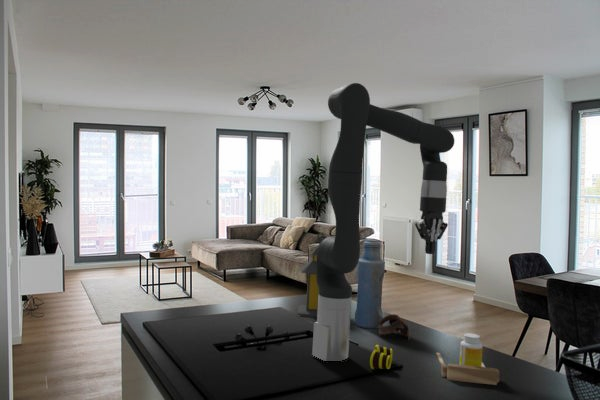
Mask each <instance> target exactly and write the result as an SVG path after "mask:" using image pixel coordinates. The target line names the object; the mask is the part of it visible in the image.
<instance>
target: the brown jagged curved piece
mask: <svg viewBox="0 0 600 400" xmlns="http://www.w3.org/2000/svg"><path fill="white" fill-rule="evenodd" d="M386 322H388V323H389V325H384V324H385V323H386ZM379 323H380V324H379V328H378V334H379V336H380V337H381V336H382V335H387V334H388V335H391V334H397V333H398V332H400V335H401V336H407V340H410V339H411V337H410V331H409V326H408V324H407V323H406V321H405V320H404V319H402V318H401V317H400V316H399V315H397V314H395V313H393V314H388V315H385V316H383V319H381V320H380V322H379Z"/></svg>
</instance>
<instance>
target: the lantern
mask: <svg viewBox="0 0 600 400" xmlns="http://www.w3.org/2000/svg"><path fill="white" fill-rule="evenodd" d="M320 236H322V237H321V238H320ZM316 237H317V240H318V241H319V242H318V246H316V247H315V248H314V249H313V250H312V251H311V252H310V255H312V258H311V259H310V260H309V261H308V262H306V263H305V264H304V265H303V266H301V267H300V273H303V274H307V289H306V304H300V305H298V306H297V316H298V315H300V316H299V317H303V318H305V317H307V318H317V311H318V294H319V288H318V285H317V280H316V267H317V251H318V247H319V245H320V243H321V242H322V241H323V240H324V239H325V235H324V233H321V232H320V233H318V234H317V236H316Z"/></svg>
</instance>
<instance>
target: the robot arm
mask: <svg viewBox="0 0 600 400" xmlns="http://www.w3.org/2000/svg"><path fill="white" fill-rule="evenodd" d="M327 106H328V109H329V112H330V113H331V114H332V115H333V116H334V117H335V118H336V119H339V120H340V130H339V131H340V132H339V137H338V140H337V144H336V146H335V148H334V150H333V153H332V156H331V158H330V162H329V167H328V176H327V177H328V178H327V192H328V196H329V200H330V204H331V206H332V211H333V214H334V217H335V232H334V233H335V235H334V236H327V237H326V238H325V237H324V240H322V242H321V243H320V245H319V244H318V246H319V247H318V251H317V267H316V280H317V285H318V288H319V294H318V311H317V317H316V321H314V322H313V335H312V336H313V337H312V349H311V351H312V352H311V353H312V354H311V356H312V355H313V356H312V357H314V356H315V357H314V358H316V357H317V358H316V359H318V358H319V360H320V359H321V361H322V360H323V361H322V362H324V361H341V362H343V361H342V360H345V359H347V358H348V359H349V349H350V348H349V347H350V333H351V314H352V312H351V311H352V295H353V287H352V285H351V283H349V281H348V280H347V278H346V276H345V275H346V274H349V273H352V272H353V271H354V270H355V269H357V264H358V261H359V259H360V256H361V243H360V241H361V239H360V213H361V212H360V210H361V194H362V193H361V192H362V183H363V166H364V165H363V163H364V151H365V137H366V131H367V127H371V128H373V129H375V130H378V131H381V132H383V133H386V134H389V135H391V136H393V137H396V138H397V139H400V140H403V141H405V142H408V143H409V144H414V145H415V144H416V145H419V150H420V151H419V152H420V156H421V157H420V158H421V162H422V166H423V169H422V181H421V185H420V186H421V188H420V199H419V200H420V201H419V202H420V203H419V210H420V211H421V213H422V214H421V216H420V220H419V221H416V222H415V223H414V226H415V227H416V229H417V232H418V235H419V237H420V239H423V240H424V241H425V247H424V251H425V252H424V253H425V254H427V255H435V251H436V242H438V241H439V240H441V239H442V237H443V235H444V234H445V231H446V230H447V228H448V225H449V224H448V223H447V222H445V221H444V217H443V216H444V215H443V213H445V212H446V209H447V195H448V187H447V186H448V184H447V182H448V181H447V180H448V164H447V163H446V162H445V161H442V160H441V156H440V154H442V153H443V154H444V153H447V152H449V151H450V150H452V149H453V147H454V146H455V137H454V134H453V132H451V131H450V130H449V129H448V128H446V127H442V126H441V125H440V126H439V125H436V124H432V123H428V122H423V121H421V120H419V119H418V118H415V117H413V116H410V115H408V114H406V113H403V112H400V111H397V110H391V109H388V108H383V107H379V106H377V105H374V104H371V98H370V94H369V91H368V89H367V88H366V87H365V86H364V85H363V84H362V83H360V82H359V83H358V82H353V83H349V84H345V85H343V86H339V87H338V88H336V89H335V90H333V91H332V92H331V93H330V95H329V96H328V99H327ZM348 359H347V360H348ZM345 361H346V360H345Z"/></svg>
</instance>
